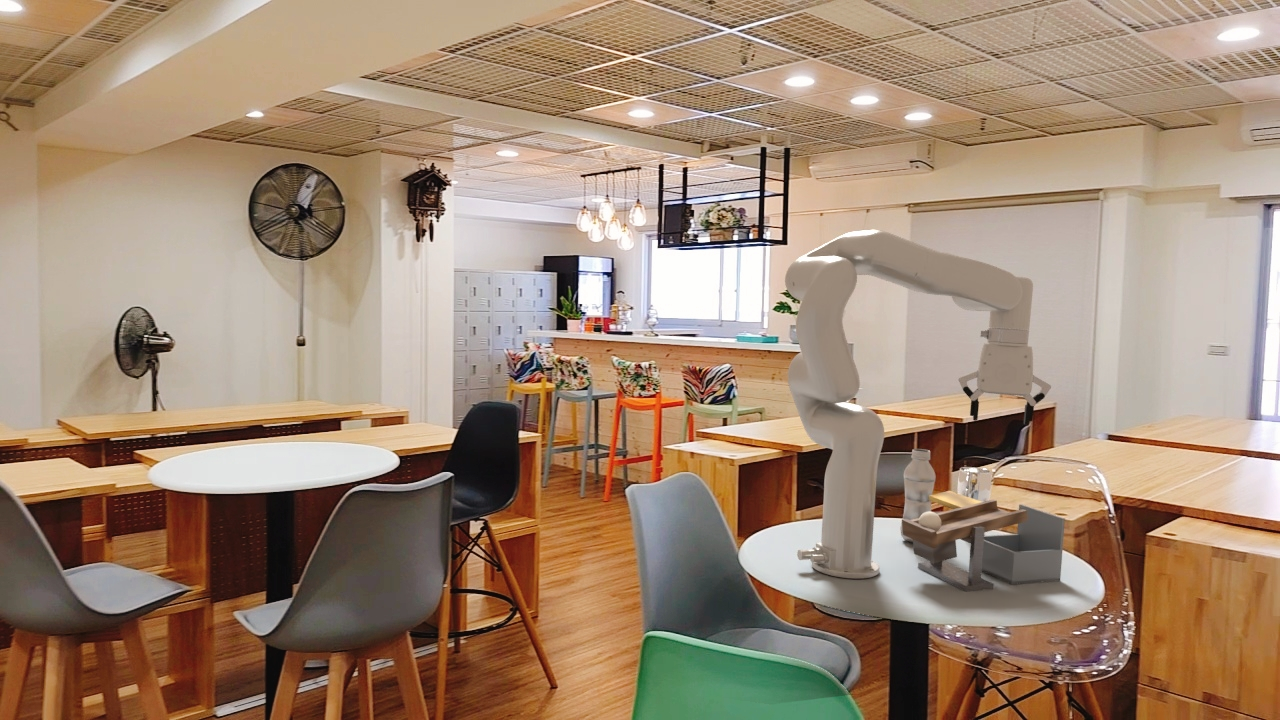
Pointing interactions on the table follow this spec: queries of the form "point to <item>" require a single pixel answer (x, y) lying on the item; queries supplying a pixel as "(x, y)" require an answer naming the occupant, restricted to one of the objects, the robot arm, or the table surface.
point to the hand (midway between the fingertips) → (1000, 422)
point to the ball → (930, 520)
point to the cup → (1027, 550)
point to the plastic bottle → (918, 486)
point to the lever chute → (957, 525)
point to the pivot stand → (958, 575)
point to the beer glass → (975, 483)
